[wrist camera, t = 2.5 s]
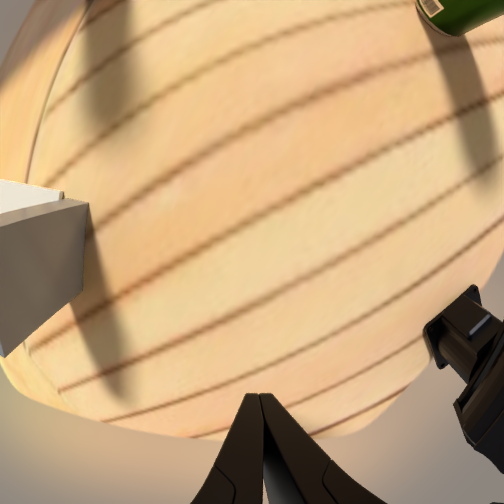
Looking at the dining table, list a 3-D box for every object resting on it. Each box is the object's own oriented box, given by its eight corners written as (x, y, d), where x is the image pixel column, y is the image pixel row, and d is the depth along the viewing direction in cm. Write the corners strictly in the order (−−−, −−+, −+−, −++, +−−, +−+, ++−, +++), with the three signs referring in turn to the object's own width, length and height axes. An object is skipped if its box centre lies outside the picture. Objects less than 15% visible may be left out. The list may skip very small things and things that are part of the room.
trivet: (63, 191, 18) (59, 191, 17) (58, 288, 20) (55, 290, 19) (-10, 176, 17) (-13, 177, 17) (-12, 259, 19) (-15, 260, 19)
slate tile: (88, 202, 18) (-13, 230, 8) (82, 291, 20) (4, 357, 10) (67, 198, 18) (-34, 222, 8) (62, 284, 20) (-17, 343, 10)
